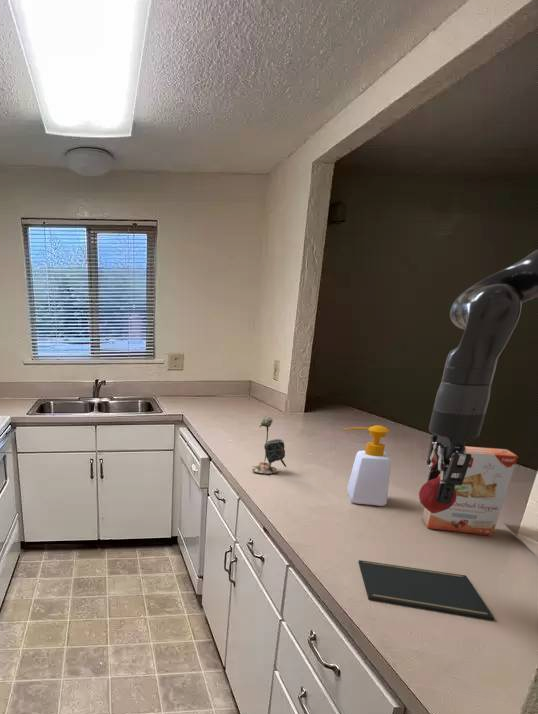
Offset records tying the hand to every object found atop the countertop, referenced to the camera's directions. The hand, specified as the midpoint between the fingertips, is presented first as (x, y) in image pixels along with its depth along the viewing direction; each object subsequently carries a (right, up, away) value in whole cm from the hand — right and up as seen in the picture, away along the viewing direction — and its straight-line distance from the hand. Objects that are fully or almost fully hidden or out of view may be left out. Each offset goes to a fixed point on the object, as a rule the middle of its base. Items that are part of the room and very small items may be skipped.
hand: (437, 495), depth 82 cm
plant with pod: (-11, +5, +69) cm, 70 cm away
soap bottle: (+8, -3, +46) cm, 47 cm away
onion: (0, -4, +1) cm, 4 cm away
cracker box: (+24, -10, +28) cm, 38 cm away
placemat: (-1, -19, +4) cm, 19 cm away
